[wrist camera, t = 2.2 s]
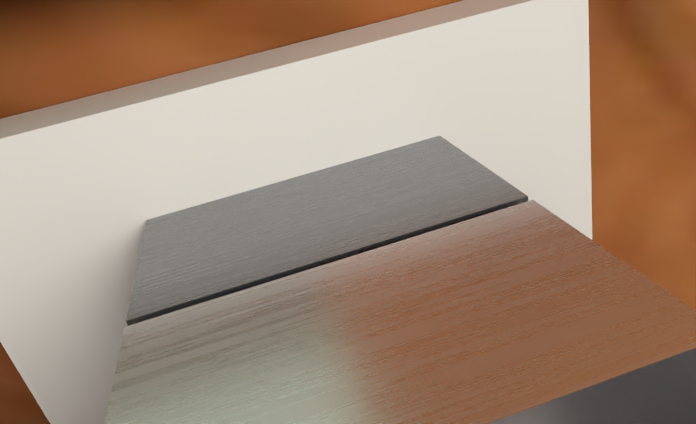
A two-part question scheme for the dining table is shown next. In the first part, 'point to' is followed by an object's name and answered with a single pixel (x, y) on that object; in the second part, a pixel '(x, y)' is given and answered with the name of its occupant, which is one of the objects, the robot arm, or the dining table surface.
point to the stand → (267, 158)
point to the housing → (395, 308)
